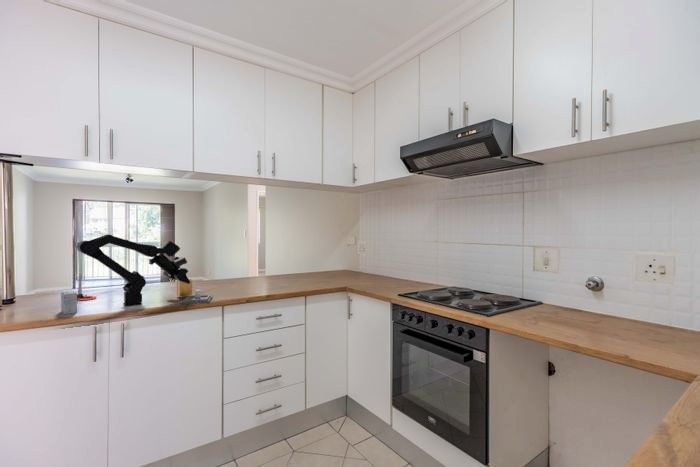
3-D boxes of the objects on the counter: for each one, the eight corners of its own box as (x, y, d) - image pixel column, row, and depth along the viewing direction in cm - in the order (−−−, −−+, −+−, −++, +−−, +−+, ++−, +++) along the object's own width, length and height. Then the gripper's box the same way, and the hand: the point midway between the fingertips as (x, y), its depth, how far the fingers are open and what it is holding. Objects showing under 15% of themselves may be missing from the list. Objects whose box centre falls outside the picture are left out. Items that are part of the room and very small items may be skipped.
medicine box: (77, 312, 139) (77, 293, 139) (63, 314, 136) (63, 294, 136) (74, 309, 144) (74, 290, 144) (61, 311, 141) (60, 292, 141)
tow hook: (100, 299, 169) (86, 297, 171) (101, 274, 168) (87, 273, 170) (83, 302, 160) (69, 300, 163) (84, 277, 160) (70, 275, 162)
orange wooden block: (180, 296, 169) (180, 280, 169) (176, 294, 173) (176, 279, 173) (192, 294, 173) (192, 279, 173) (188, 293, 177) (188, 278, 177)
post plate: (181, 303, 157) (181, 293, 157) (187, 298, 169) (187, 288, 169) (208, 302, 160) (208, 292, 160) (212, 297, 172) (212, 287, 172)
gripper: (184, 253, 164) (205, 272, 172) (169, 251, 176) (190, 269, 184) (167, 269, 158) (190, 289, 166) (153, 266, 170) (175, 284, 179)
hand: (187, 282), depth 174 cm, fingers closed on orange wooden block, 6 cm apart
